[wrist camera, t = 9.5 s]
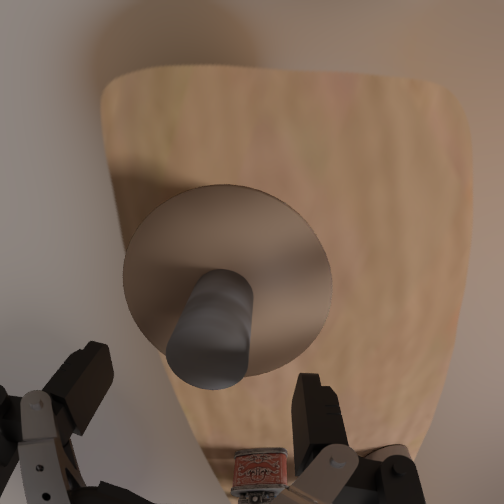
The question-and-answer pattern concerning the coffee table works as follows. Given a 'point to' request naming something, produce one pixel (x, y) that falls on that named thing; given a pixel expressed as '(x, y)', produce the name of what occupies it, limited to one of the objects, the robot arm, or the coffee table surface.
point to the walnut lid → (227, 283)
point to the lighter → (259, 475)
